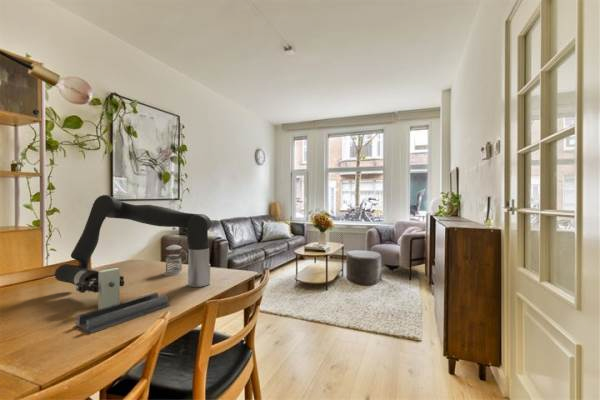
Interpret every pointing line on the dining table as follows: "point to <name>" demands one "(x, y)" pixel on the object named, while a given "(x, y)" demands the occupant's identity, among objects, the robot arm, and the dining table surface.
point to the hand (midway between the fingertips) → (110, 286)
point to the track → (120, 312)
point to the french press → (172, 258)
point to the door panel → (108, 287)
